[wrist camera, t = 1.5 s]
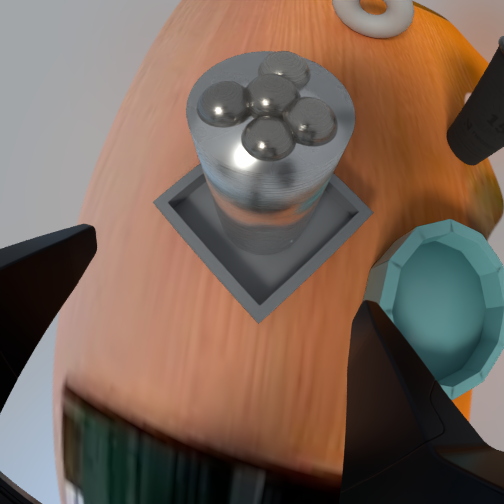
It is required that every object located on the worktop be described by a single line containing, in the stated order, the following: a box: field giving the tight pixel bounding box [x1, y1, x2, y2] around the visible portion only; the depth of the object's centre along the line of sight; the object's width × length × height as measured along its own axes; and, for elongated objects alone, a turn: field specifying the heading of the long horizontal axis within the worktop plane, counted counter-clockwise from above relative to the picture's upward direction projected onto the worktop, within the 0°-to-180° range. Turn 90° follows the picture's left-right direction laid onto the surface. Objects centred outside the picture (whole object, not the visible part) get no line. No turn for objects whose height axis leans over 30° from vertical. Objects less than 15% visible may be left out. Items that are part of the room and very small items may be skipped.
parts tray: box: [153, 163, 373, 324], centre depth 22 cm, size 11×11×2 cm
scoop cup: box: [186, 51, 355, 255], centre depth 16 cm, size 6×6×13 cm
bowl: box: [363, 219, 504, 400], centre depth 19 cm, size 13×13×4 cm
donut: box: [332, 0, 414, 38], centre depth 24 cm, size 10×4×10 cm, turn 72°
